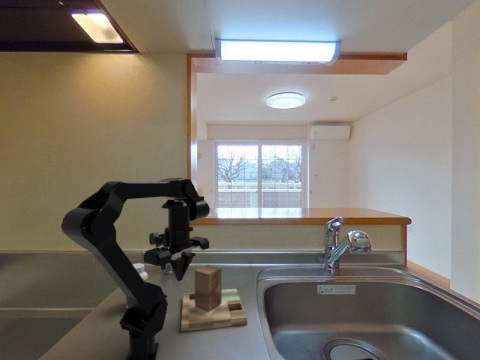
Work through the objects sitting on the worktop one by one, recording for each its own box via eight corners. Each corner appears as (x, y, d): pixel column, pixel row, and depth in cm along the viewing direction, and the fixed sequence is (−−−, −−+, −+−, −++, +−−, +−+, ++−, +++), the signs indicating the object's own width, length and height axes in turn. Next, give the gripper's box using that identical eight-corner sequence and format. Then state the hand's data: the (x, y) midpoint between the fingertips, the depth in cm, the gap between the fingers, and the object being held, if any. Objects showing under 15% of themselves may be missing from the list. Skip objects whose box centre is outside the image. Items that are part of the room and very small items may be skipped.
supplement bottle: (147, 298, 86) (147, 261, 85) (148, 308, 79) (148, 267, 79) (126, 302, 83) (125, 263, 83) (124, 312, 77) (124, 270, 77)
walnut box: (208, 312, 74) (208, 274, 73) (194, 306, 77) (194, 270, 77) (221, 303, 79) (221, 268, 78) (208, 298, 82) (208, 264, 82)
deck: (247, 324, 71) (247, 317, 71) (181, 331, 68) (181, 324, 68) (236, 294, 89) (236, 288, 89) (183, 299, 85) (183, 293, 85)
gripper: (183, 216, 81) (184, 264, 82) (130, 226, 66) (130, 285, 66) (210, 219, 75) (210, 272, 75) (158, 231, 59) (158, 297, 60)
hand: (179, 280), depth 69 cm, fingers closed
